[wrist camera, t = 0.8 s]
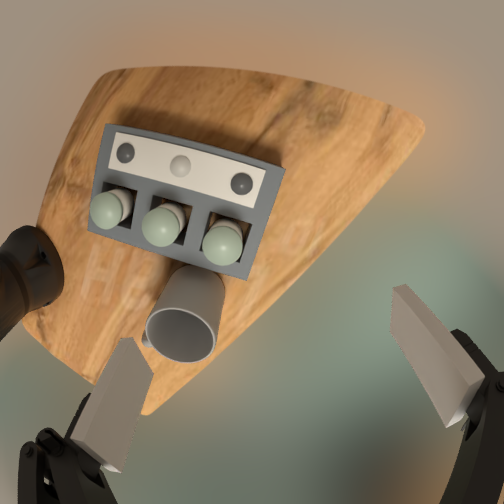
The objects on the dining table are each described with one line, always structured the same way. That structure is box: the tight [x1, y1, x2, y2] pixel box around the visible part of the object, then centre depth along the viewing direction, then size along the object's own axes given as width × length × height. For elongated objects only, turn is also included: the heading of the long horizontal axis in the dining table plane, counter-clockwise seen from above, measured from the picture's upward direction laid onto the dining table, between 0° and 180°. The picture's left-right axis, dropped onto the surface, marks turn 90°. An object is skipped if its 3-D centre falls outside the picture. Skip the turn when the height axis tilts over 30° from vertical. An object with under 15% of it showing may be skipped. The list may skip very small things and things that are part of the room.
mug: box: [142, 265, 225, 363], centre depth 34 cm, size 12×8×11 cm
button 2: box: [90, 188, 135, 229], centre depth 29 cm, size 4×4×4 cm
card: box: [108, 132, 266, 208], centre depth 28 cm, size 18×4×1 cm, turn 72°
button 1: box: [202, 218, 243, 266], centre depth 31 cm, size 4×4×4 cm
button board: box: [88, 124, 286, 281], centre depth 32 cm, size 22×14×4 cm, turn 72°
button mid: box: [142, 202, 187, 247], centre depth 30 cm, size 4×4×4 cm
